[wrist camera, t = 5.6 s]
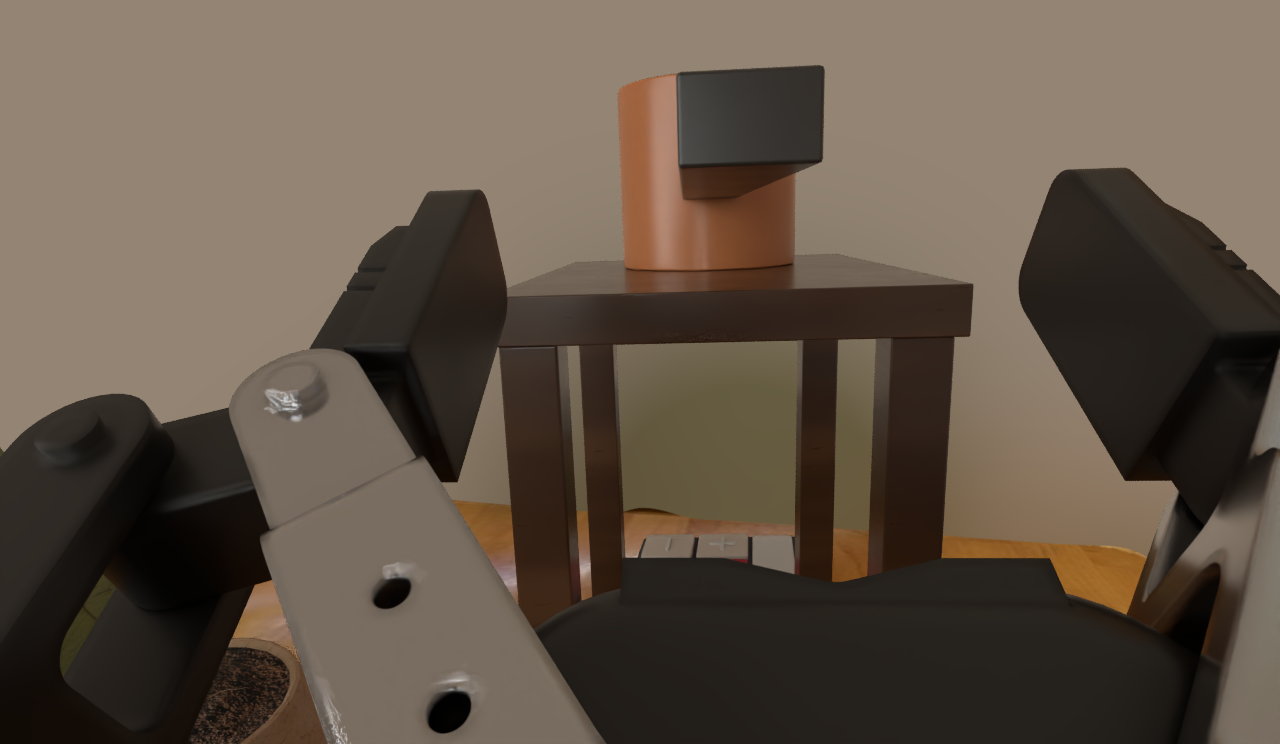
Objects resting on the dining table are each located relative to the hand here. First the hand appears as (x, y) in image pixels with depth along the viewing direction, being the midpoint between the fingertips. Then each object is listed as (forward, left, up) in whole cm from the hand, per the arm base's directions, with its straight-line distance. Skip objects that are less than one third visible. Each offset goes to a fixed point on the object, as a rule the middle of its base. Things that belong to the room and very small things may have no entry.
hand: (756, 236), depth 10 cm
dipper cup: (-2, +13, -2) cm, 13 cm away
